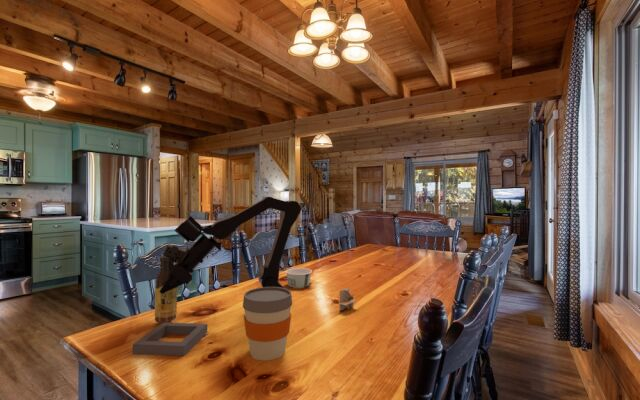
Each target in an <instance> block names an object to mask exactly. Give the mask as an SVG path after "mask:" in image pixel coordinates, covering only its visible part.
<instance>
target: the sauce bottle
mask: <svg viewBox="0 0 640 400" xmlns="http://www.w3.org/2000/svg"><path fill="white" fill-rule="evenodd" d="M159 262H160V269H159V273H158V275H157V276H156V279H155V288H154V289H155V290H154V293H155V295H154V322H155V323H159V324H162V323H171V322H172V321H174V320H175V319H177V314H178V311H177V309H178V287H176V288H173V289H171V290H169V291H167V292H165V293H163V294H162V293H160V290H161V288H162V287H163V285H164V284H165V283H166V281H167V280H168V278H169V277H170V269H172V268H173V265H174V263H175V262H174V258H171V257H166V256H163V255H162V256H160V257H159Z"/></svg>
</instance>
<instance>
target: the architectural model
mask: <svg viewBox="0 0 640 400" xmlns="http://www.w3.org/2000/svg"><path fill="white" fill-rule="evenodd" d="M355 302H357V299H355V298H354V296H353V294H351V292H350V287H347V288H344V289H341V290H339V302H338V303H337V304H338V305H339V311H340V312H341V311H342V310H345V309H347V310H351V308H354V303H355Z"/></svg>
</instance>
